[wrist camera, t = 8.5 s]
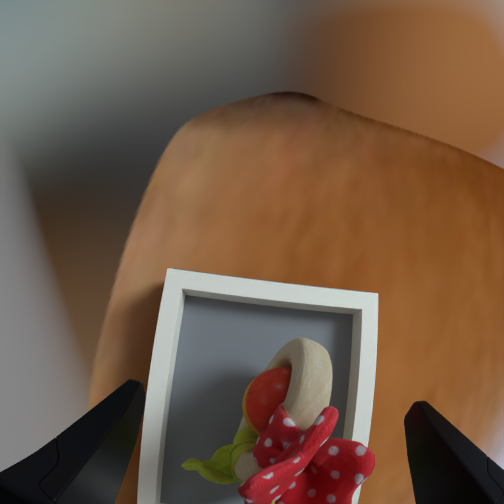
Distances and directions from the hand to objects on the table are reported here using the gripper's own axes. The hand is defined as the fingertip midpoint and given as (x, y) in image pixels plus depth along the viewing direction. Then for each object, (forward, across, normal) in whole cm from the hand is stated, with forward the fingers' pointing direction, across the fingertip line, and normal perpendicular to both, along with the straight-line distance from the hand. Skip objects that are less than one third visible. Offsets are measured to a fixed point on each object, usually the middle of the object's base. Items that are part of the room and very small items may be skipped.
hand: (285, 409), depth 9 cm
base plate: (+4, 0, +10) cm, 11 cm away
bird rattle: (+5, 0, +7) cm, 8 cm away
